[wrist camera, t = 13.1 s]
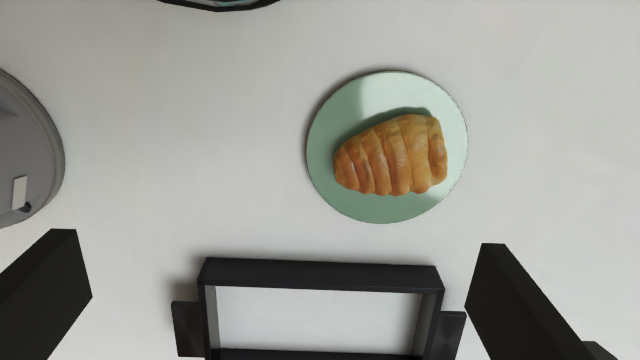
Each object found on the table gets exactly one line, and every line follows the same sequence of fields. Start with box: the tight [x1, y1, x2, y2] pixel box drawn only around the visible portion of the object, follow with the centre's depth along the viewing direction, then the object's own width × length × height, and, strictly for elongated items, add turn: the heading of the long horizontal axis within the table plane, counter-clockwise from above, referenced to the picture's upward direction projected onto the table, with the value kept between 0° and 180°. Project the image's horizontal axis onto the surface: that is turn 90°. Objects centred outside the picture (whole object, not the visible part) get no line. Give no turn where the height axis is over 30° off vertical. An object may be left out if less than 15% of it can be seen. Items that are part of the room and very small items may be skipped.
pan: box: [171, 257, 467, 360], centre depth 41 cm, size 29×13×4 cm, turn 87°
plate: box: [306, 71, 468, 224], centre depth 34 cm, size 14×14×1 cm
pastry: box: [332, 114, 448, 197], centre depth 32 cm, size 9×7×4 cm
